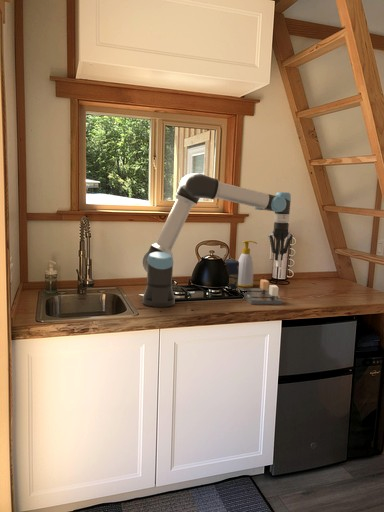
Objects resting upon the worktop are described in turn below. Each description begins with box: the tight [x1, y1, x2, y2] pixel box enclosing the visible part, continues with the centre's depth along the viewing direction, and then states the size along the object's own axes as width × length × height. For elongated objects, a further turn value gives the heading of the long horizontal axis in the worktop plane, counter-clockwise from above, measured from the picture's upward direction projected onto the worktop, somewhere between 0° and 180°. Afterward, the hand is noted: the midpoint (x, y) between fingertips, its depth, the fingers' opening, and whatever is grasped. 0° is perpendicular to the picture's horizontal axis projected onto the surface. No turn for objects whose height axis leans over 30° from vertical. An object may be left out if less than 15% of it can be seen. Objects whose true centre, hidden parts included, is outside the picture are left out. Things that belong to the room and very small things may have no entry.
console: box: [237, 287, 284, 306], centre depth 225 cm, size 16×26×3 cm, turn 9°
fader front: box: [268, 284, 279, 297], centre depth 218 cm, size 3×5×5 cm, turn 9°
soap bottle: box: [237, 240, 258, 288], centre depth 251 cm, size 11×12×26 cm
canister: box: [224, 258, 239, 289], centre depth 234 cm, size 10×10×18 cm
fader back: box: [259, 279, 270, 291], centre depth 231 cm, size 3×5×5 cm, turn 9°
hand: (278, 266), depth 230 cm, fingers closed
